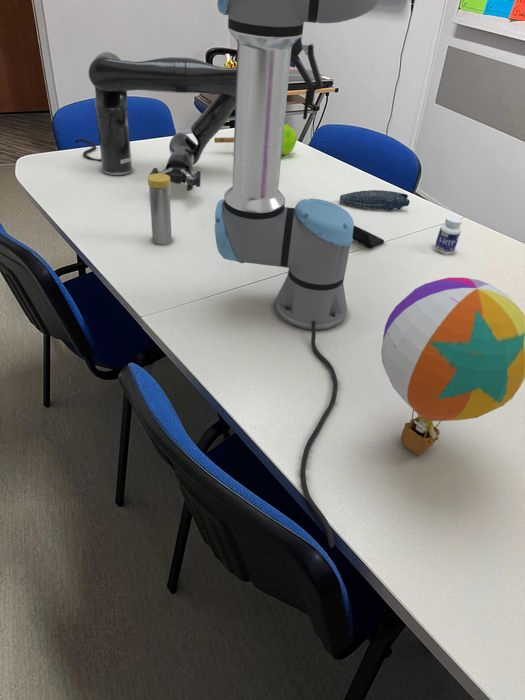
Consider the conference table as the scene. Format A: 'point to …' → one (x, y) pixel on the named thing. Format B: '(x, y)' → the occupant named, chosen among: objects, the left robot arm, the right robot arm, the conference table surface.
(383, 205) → the fish model
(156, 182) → the lid
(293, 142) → the decorative tree
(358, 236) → the handheld gaming console
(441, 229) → the pill bottle
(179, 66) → the left robot arm
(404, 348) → the toy
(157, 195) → the grey metal canister
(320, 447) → the conference table surface
